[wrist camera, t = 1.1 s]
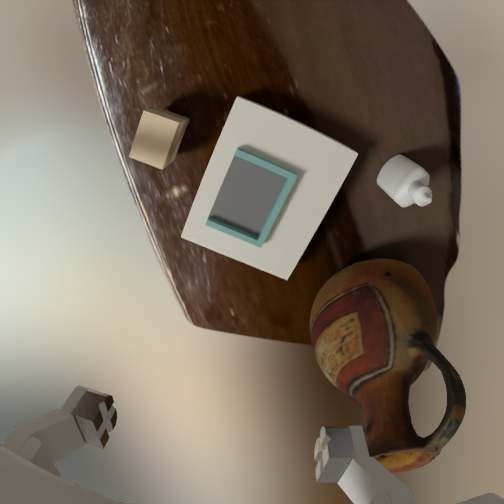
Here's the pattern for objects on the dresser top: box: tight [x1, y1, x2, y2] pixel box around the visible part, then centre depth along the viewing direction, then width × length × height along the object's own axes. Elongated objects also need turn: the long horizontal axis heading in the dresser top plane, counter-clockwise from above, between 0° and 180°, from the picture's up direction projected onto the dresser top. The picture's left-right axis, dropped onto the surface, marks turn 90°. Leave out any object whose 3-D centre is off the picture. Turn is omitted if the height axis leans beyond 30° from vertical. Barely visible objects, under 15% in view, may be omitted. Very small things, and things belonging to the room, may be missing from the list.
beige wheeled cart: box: [129, 108, 190, 170], centre depth 37 cm, size 6×5×7 cm
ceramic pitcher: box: [310, 259, 466, 473], centre depth 38 cm, size 20×20×30 cm
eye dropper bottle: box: [377, 154, 432, 207], centre depth 35 cm, size 4×6×12 cm
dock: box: [181, 96, 358, 280], centre depth 41 cm, size 20×16×5 cm
